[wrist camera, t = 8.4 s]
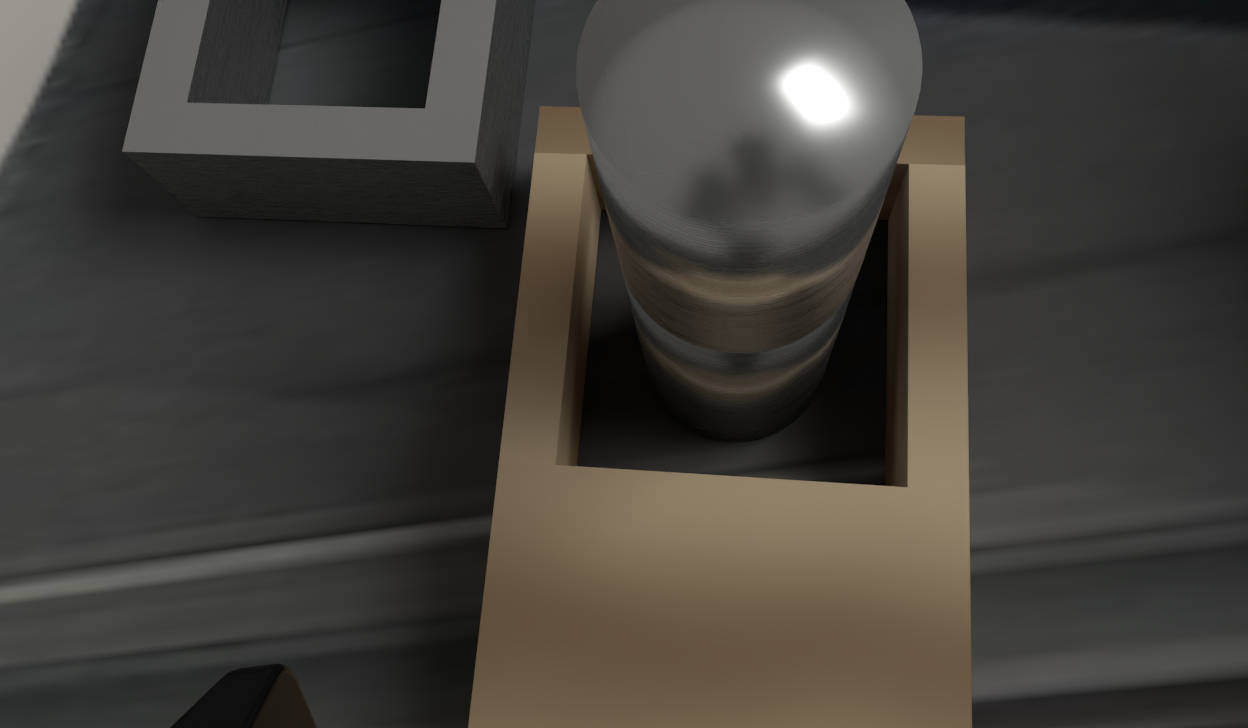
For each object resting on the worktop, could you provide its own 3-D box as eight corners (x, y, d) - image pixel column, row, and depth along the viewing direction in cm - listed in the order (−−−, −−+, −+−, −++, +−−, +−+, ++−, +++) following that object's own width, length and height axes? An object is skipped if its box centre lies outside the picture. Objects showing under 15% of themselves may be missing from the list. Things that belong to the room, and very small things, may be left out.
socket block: (506, 228, 22) (474, 162, 19) (198, 216, 23) (122, 151, 20) (540, -49, 24) (515, -146, 21) (253, -51, 25) (193, -146, 22)
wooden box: (940, 921, 18) (974, 960, 15) (483, 871, 18) (447, 901, 16) (937, 178, 21) (964, 117, 19) (559, 166, 22) (540, 106, 20)
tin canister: (806, 459, 20) (890, 251, 10) (627, 420, 21) (538, 186, 11) (840, 289, 21) (947, -57, 11) (667, 256, 22) (620, -102, 11)
